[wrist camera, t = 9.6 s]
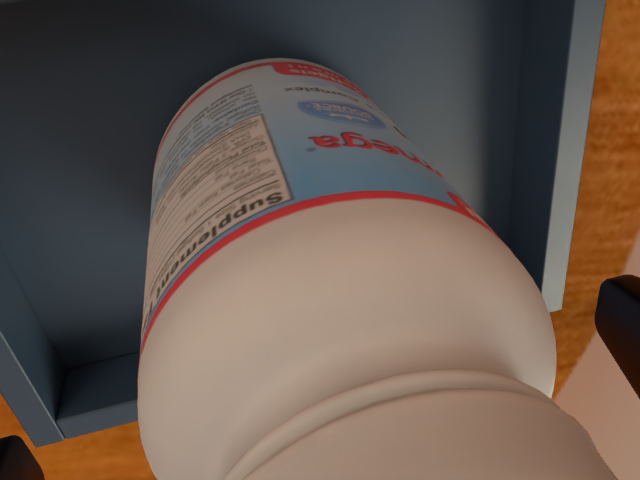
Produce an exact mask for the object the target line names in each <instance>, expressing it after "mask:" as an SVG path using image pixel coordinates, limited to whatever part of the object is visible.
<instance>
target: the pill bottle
mask: <svg viewBox="0 0 640 480" xmlns="http://www.w3.org/2000/svg"><path fill="white" fill-rule="evenodd" d="M555 374H556V343H555V335H554V330H553V326H552V322H551V317H550V314H549V312H548V309H547V307H546V304H545V302H544V299H543V297H542V295H541V292H540V291H539V289H538V287H537V285H536V284H535V282H534V280H533V278H532V277H531V276H530V274H529V273H528V272H527V270H526V269H525V267H524V266H523V265H522V264H521V262H520V261H519V260H518V259H517V258H516V257H515V255H514V254H513V253H512V251H511V250H510V249H509V248H508V247H507V245H506V244H505V243H504V242H503V241H502V240H501V239H500V238H499V237H498V236H497V235H496V233H495V232H494V231H493V230H492V229H491V228H490V227H489V226H488V225H487V224H486V222H485V221H484V220H483V219H482V218H481V217H480V216H479V215H478V214H477V213H476V212H475V211H474V210H473V209H472V208H471V207H470V205H469V204H468V203H467V202H466V201H465V200H464V199H463V198H462V197H461V195H460V194H459V193H458V192H457V191H456V190H455V189H454V188H453V187H452V185H451V184H450V183H449V182H448V181H447V180H446V179H445V178H444V177H443V176H442V175H441V174H440V173H439V172H438V171H437V169H436V168H435V167H434V166H433V165H432V164H431V163H430V162H429V161H428V160H427V159H426V158H425V157H424V155H423V154H422V153H421V152H420V151H419V150H418V149H417V148H416V147H415V146H414V145H413V144H412V143H411V142H410V141H409V139H408V138H407V137H406V136H405V135H404V134H403V132H402V131H401V130H400V129H399V128H398V127H397V126H396V125H395V124H394V123H393V122H392V121H391V120H390V119H389V118H388V117H387V116H386V115H385V114H384V113H383V112H382V111H381V110H380V109H379V108H378V107H377V105H376V104H375V103H374V102H373V101H372V100H371V99H370V98H369V97H368V96H367V95H366V94H365V93H364V92H363V91H362V90H361V89H360V88H359V87H358V86H356V85H355V84H354V83H352V82H351V81H350V80H348V79H347V78H345V77H344V76H342V75H341V74H339V73H337V72H335V71H334V70H331V69H329V68H327V67H324V66H322V65H319V64H316V63H312V62H309V61H304V60H299V59H290V58H268V59H261V60H254V61H250V62H246V63H243V64H240V65H238V66H235V67H232V68H230V69H228V70H226V71H224V72H222V73H221V74H219V75H217V76H215V77H214V78H212V79H211V80H210V81H208V82H207V83H205V84H204V85H203V86H201V87H200V88H199V89H198V90H197V91H196V92H195V93H194V94H192V95H191V96H190V97H189V99H188V100H187V101H186V102H185V103H184V104H183V105H182V107H181V108H180V109H179V111H178V112H177V113H176V115H175V116H174V118H173V119H172V121H171V122H170V124H169V126H168V127H167V129H166V131H165V133H164V135H163V138H162V140H161V142H160V145H159V148H158V152H157V156H156V162H155V166H154V174H153V185H152V201H151V216H150V229H149V239H148V251H147V267H146V279H145V292H144V306H143V319H142V330H141V346H140V358H139V370H138V401H137V406H138V422H139V429H140V436H141V442H142V445H143V448H144V452H145V455H146V458H147V460H148V463H149V465H150V467H151V470H152V472H153V474H154V476H155V478H156V479H157V480H618V479H617V478H616V476H615V475H614V474H613V472H612V471H611V470H610V469H609V467H608V466H607V465H606V463H605V462H604V460H603V459H602V457H601V456H600V454H599V453H598V451H597V450H596V447H595V445H594V443H593V441H592V439H591V437H590V435H589V433H588V432H587V431H586V430H585V429H584V428H583V426H582V425H581V424H580V423H579V422H578V421H577V420H576V419H575V418H574V417H572V416H571V415H569V414H567V413H566V412H564V411H563V410H561V409H560V407H559V406H558V405H557V404H556V403H555V402H554V401H553V400H552V399H551V396H552V392H553V388H554V381H555Z"/></svg>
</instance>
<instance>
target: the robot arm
mask: <svg viewBox="0 0 640 480" xmlns="http://www.w3.org/2000/svg"><path fill="white" fill-rule="evenodd" d="M595 326H596V329H597V331H598V333H599V335H600V337H601V338H602V340H603V342H604V343H605V345H606V346H607V348H608V349H609V351H610V353H611V354H612V356H613V357H614V359H615V361H616V362H617V364H618V365H619V367H620V369H621V370H622V372H623V373H624V375H625V376H626V378H627V380H628V381H629V383H630V384H631V386H632V388H633V389H634V391H635V392H636V394H637V395H638V397H639V399H640V278H639V277H636V276H633V275H622V276H618V277H614V278H610V279H607V280H605V281H604V282H603V283H602V284H601V287H600V291H599V296H598V302H597V307H596V313H595ZM0 480H45V479H44V474H43V471H42V469H41V467H40V465H39V464H38V462H37V461H36V459H35V458H34V456H33V455H32V453H31V452H30V450H29V449H28V447H27V446H26V444H25V443H24V441H23V440H22V439H21V438H20V437H18V436H16V435H14V436H13V435H12V436H8V437H4V438H0Z"/></svg>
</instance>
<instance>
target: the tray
mask: <svg viewBox="0 0 640 480" xmlns="http://www.w3.org/2000/svg"><path fill="white" fill-rule="evenodd" d="M605 5H606V0H0V393H1V394H2V396H3V397H4V399H5V400H6V402H7V404H8V405H9V407H10V408H11V410H12V411H13V413H14V414H15V416H16V417H17V419H18V420H19V422H20V424H21V425H22V427H23V428H24V430H25V431H26V433H27V434H28V436H29V437H30V439H31V441H32V442H33V444H34V445H35V447H41V446H45V445H48V444H52V443H56V442H60V441H63V440H65V438H67V439H69V438H73V437H77V436H81V435H85V434H88V433H92V432H96V431H100V430H104V429H107V428H111V427H115V426H119V425H123V424H126V423H130V422H134V421H138V406H137V401H138V370H139V358H140V346H141V330H142V319H143V306H144V292H145V279H146V267H147V251H148V239H149V229H150V216H151V201H152V185H153V174H154V166H155V162H156V156H157V152H158V148H159V145H160V142H161V140H162V138H163V135H164V133H165V131H166V129H167V127H168V126H169V124H170V122H171V121H172V119H173V118H174V116H175V115H176V113H177V112H178V111H179V109H180V108H181V107H182V105H183V104H184V103H185V102H186V101H187V100H188V99H189V97H190V96H191V95H192V94H194V93H195V92H196V91H197V90H198V89H199V88H200V87H201V86H203V85H204V84H205V83H207V82H208V81H210V80H211V79H212V78H214V77H215V76H217V75H219V74H221V73H222V72H224V71H226V70H228V69H230V68H232V67H235V66H238V65H240V64H243V63H246V62H250V61H254V60H261V59H268V58H290V59H299V60H304V61H309V62H312V63H316V64H319V65H322V66H324V67H327V68H329V69H331V70H334V71H335V72H337V73H339V74H341V75H342V76H344V77H345V78H347V79H348V80H350V81H351V82H352V83H354V84H355V85H356V86H358V87H359V88H360V89H361V90H362V91H363V92H364V93H365V94H366V95H367V96H368V97H369V98H370V99H371V100H372V101H373V102H374V103H375V104H376V105H377V107H378V108H379V109H380V110H381V111H382V112H383V113H384V114H385V115H386V116H387V117H388V118H389V119H390V120H391V121H392V122H393V123H394V124H395V125H396V126H397V127H398V128H399V129H400V130H401V131H402V132H403V134H404V135H405V136H406V137H407V138H408V139H409V141H410V142H411V143H412V144H413V145H414V146H415V147H416V148H417V149H418V150H419V151H420V152H421V153H422V154H423V155H424V157H425V158H426V159H427V160H428V161H429V162H430V163H431V164H432V165H433V166H434V167H435V168H436V169H437V171H438V172H439V173H440V174H441V175H442V176H443V177H444V178H445V179H446V180H447V181H448V182H449V183H450V184H451V185H452V187H453V188H454V189H455V190H456V191H457V192H458V193H459V194H460V195H461V197H462V198H463V199H464V200H465V201H466V202H467V203H468V204H469V205H470V207H471V208H472V209H473V210H474V211H475V212H476V213H477V214H478V215H479V216H480V217H481V218H482V219H483V220H484V221H485V222H486V224H487V225H488V226H489V227H490V228H491V229H492V230H493V231H494V232H495V233H496V235H497V236H498V237H499V238H500V239H501V240H502V241H503V242H504V243H505V244H506V245H507V247H508V248H509V249H510V250H511V251H512V253H513V254H514V255H515V257H516V258H517V259H518V260H519V261H520V262H521V264H522V265H523V266H524V267H525V269H526V270H527V272H528V273H529V274H530V276H531V277H532V278H533V280H534V282H535V284H536V285H537V287H538V289H539V291H540V292H541V295H542V297H543V299H544V302H545V304H546V307H547V309H548V312H549V313H550V312H554V311H558V310H561V309H562V303H563V296H564V289H565V282H566V275H567V268H568V261H569V254H570V247H571V240H572V233H573V226H574V219H575V213H576V206H577V199H578V192H579V185H580V178H581V171H582V164H583V157H584V150H585V143H586V136H587V129H588V122H589V115H590V109H591V102H592V95H593V88H594V81H595V74H596V67H597V60H598V53H599V46H600V39H601V32H602V25H603V18H604V11H605Z"/></svg>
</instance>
